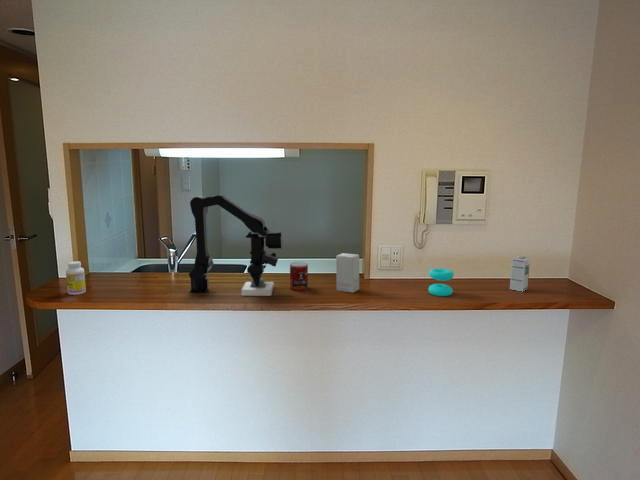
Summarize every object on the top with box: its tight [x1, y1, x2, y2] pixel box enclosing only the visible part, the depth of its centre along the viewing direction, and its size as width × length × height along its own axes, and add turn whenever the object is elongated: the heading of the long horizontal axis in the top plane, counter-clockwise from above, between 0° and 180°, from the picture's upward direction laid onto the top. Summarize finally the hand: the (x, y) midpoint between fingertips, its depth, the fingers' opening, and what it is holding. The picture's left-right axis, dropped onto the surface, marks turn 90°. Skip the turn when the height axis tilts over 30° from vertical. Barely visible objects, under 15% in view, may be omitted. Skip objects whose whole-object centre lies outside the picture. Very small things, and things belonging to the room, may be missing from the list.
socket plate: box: [241, 281, 275, 297], centre depth 187 cm, size 12×12×2 cm
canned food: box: [289, 261, 309, 292], centre depth 191 cm, size 8×8×11 cm
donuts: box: [427, 268, 455, 297], centre depth 186 cm, size 10×10×10 cm
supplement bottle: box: [65, 260, 87, 296], centre depth 181 cm, size 7×7×13 cm
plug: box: [250, 277, 266, 288], centre depth 186 cm, size 5×4×5 cm
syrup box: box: [509, 255, 531, 293], centre depth 192 cm, size 6×6×14 cm
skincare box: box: [335, 252, 360, 293], centre depth 189 cm, size 8×7×16 cm
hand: (258, 284), depth 186 cm, fingers open, 5 cm apart
